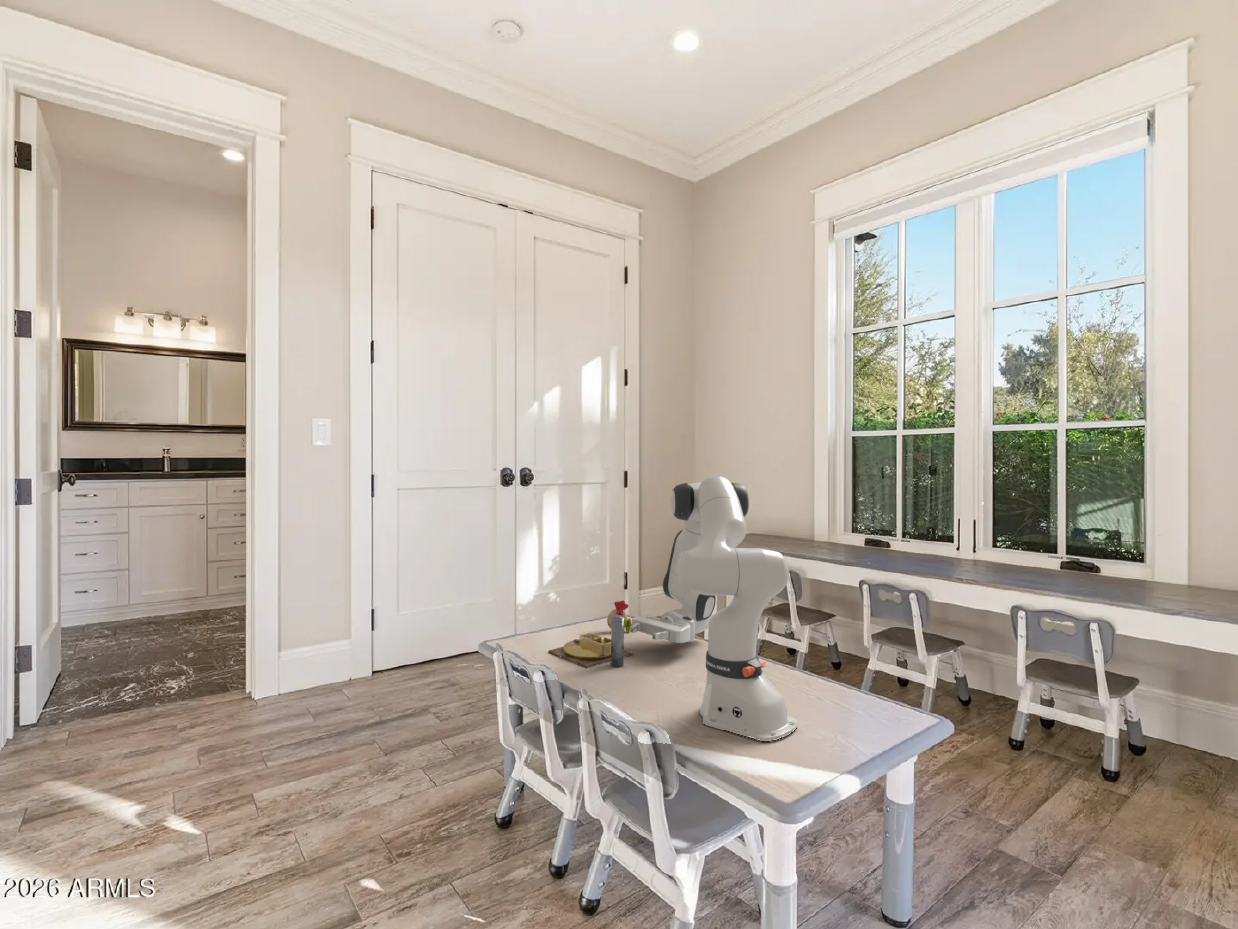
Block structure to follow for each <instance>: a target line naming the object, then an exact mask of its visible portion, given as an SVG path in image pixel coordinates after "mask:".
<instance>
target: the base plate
mask: <svg viewBox="0 0 1238 929" xmlns="http://www.w3.org/2000/svg"><path fill="white" fill-rule="evenodd" d="M548 652H550V653H549V654H551V653H552V654H551V655H553V654H554V656H556V655H557V657H558V656H561V657H563V658H565V659H564V660H566V659H567V661H568V660H570V661H569V662H572V663H573V662H575V663H574V664H576V663H577V665H578V664H579V665H578V666H582V667H584V668H585V669H587V668H591V667H594V666H598V665H602V664H605V663H608V662H611V657H608V658H603V659H593V660H587V659H577V658H573V657H570V656H568V655H566V654H565V653H564V646H560V647H556V648H553V649H549V650H548V651H547V653H548ZM632 655H633V652H631V651H629V650H626V649H624V656H626V657H628V656H632ZM561 657H560V658H561ZM563 658H562V659H563ZM604 662H605V663H604ZM601 663H602V664H601ZM597 664H598V665H597Z"/></svg>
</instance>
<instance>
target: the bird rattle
mask: <svg viewBox="0 0 1238 929" xmlns="http://www.w3.org/2000/svg"><path fill="white" fill-rule="evenodd" d="M613 604H614V607H615V608H614V609H613V610H612V611H610V612H609V613H608V615H607V618H606V622H607V625H608V627H609V629H610V630H611V627H612V616H613V615H622V616H624V629H625V631H626V632H627V633H630V626H632V619H631V618H630V617H628V616H627V614H626V612H625V610H627V609H628V608H629V604H628V603H626V601H625V600H620V601H614V603H613Z"/></svg>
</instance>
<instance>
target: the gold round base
mask: <svg viewBox="0 0 1238 929" xmlns="http://www.w3.org/2000/svg"><path fill="white" fill-rule="evenodd" d="M563 647H564V653H565V654H566V655H568V656H570V657H573V658H577V659H587V660H593V659H603V658H608V657H611V638H609V637H606V636H605V637H603V639H602V637H601V635H600V633H592V632H590V633H587V632H586V633H583V634H579V638H578V639H577V638H575V639H573V640H570V641H567V642H566V643H564V645H563Z"/></svg>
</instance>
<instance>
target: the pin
mask: <svg viewBox="0 0 1238 929" xmlns="http://www.w3.org/2000/svg"><path fill="white" fill-rule="evenodd" d="M610 632H611V633H610V634H611V635H610V636H611V638H610V639H611V661H610V666H611V667H612V668H622V667H624V662H625V661H624V659H625V657H624V650H625V649H624V647H625V646H624V645H625V628H624V616H622V615H613V616H612V627H611V629H610Z"/></svg>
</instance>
